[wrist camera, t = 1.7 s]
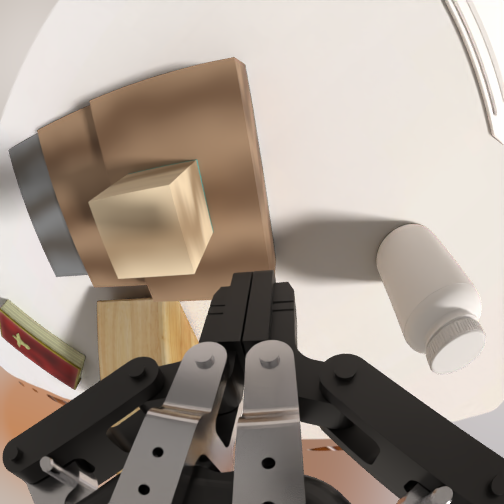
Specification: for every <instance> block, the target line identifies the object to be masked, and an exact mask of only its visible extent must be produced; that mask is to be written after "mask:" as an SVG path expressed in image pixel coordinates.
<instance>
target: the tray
mask: <svg viewBox="0 0 504 504" xmlns="http://www.w3.org/2000/svg"><path fill="white" fill-rule="evenodd" d="M444 1H445V3H446V5H447V7H448V8H449V10H450V12H451V15H452V17H453V19H454V21H455V23H456V25H457V27H458V30H459V32H460V34H461V36H462V39H463V41H464V44H465V46H466V49H467V51H468V54H469V56H470V59H471V62H472V65H473V68H474V70H475V73H476V76H477V80H478V83H479V86H480V89H481V93H482V96H483V100H484V103H485V107H486V111H487V115H488V119H489V124H490V128H491V133H492V135H493V136H494V137H495V138H496V139H497V140H498V141H499V142H501V143H502V144H503V145H504V0H453V1H454V3H455V5H456V7H457V9H458V11H459V13H460V15H461V17H462V19H463V21H464V24H465V26H466V28H467V30H468V33H469V35H470V37H471V40H472V42H473V45H474V47H475V50H476V53H477V55H478V58H479V61H480V64H481V67H482V70H483V73H484V76H485V79H486V82H487V85H488V89H489V92H490V96H491V100H492V103H493V107H494V114H493V111H492V107H491V103H490V99H489V96H488V92H487V89H486V85H485V82H484V79H483V76H482V72H481V69H480V67H479V64H478V61H477V58H476V55H475V53H474V50H473V47H472V45H471V42H470V40H469V37H468V35H467V33H466V30H465V28H464V26H463V24H462V21H461V19H460V17H459V15H458V13H457V11H456V9H455V7H454V5H453V3H452V1H451V0H444Z"/></svg>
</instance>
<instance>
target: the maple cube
mask: <svg viewBox="0 0 504 504" xmlns="http://www.w3.org/2000/svg"><path fill="white" fill-rule="evenodd" d="M88 203H89V206H90V209H91V211H92V214H93V217H94V220H95V223H96V225H97V228H98V231H99V233H100V236H101V238H102V241H103V243H104V246H105V248H106V251H107V253H108V256H109V258H110V261H111V263H112V265H113V268H114V270H115V272H116V275H117V277H118V279H125V278H142V277H157V276H173V275H188V274H195V272H196V269H197V267H198V265H199V263H200V260H201V258H202V256H203V254H204V251H205V249H206V247H207V245H208V242H209V240H210V238H211V236H212V234H213V227H212V223H211V219H210V214H209V210H208V206H207V201H206V197H205V193H204V188H203V184H202V179H201V175H200V170H199V166H198V161H197V160H191V161H186V162H181V163H176V164H171V165H166V166H161V167H156V168H152V169H147V170H143V171H139V172H134V173H130V174H128V175H126V176H125V177H123V178H122V179H120V180H119V181H117V182H116V183H114V184H113V185H111V186H110V187H108V188H107V189H106V190H104V191H103V192H101V193H100V194H99V195H97V196H96V197H94V198H93V199H92V200H90V201H89V202H88Z"/></svg>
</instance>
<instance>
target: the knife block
mask: <svg viewBox="0 0 504 504" xmlns="http://www.w3.org/2000/svg"><path fill="white" fill-rule="evenodd" d="M97 332H98V353H99V368H100V380H102V379H104V378H105V377H107V376H108V375H110V374H111V373H113V372H114V371H115V370H117V369H118V368H120V367H121V366H123V365H124V364H126V363H127V362H128V361H130V360H132V359H134V358H137V357H150V358H152V359H154V360H155V361H156V362H157V364H158V366H162V365H167V364H171V363H175V362H179V361H181V360H182V359H183V357H184V355H185V353H186V352H187V351H188V350H189V349H190V348H191V347H193V346H194V345H196V344H198V343H199V342H198V340H197V338H196V336H195V334H194V332H193V330H192V328H191V326H190V324H189V322H188V320H187V317H186V315H185V313H184V311H183V309H182V307H181V304H180V302H179V301H167V302H154V301H153V298H137V299H119V300H105V301H101V300H100V301H97ZM138 410H140V408H139V407H138V408H137V409H135V410H134V411H133V412H131V413H130V414H128V415H127V416H126V417H124V418H123V419H121V420H120V421H118V422H117V423H116V424H114V425H113V426H111V427H115V426H117V425H119V424H120V423H121V422H123V421H124V420H126V419H127V418H128V417H130V416H131V415H133V414H134V413H135V412H137V411H138ZM122 470H123V469H122ZM122 470H121V471H119V472H118V473H116V474H117V475H118V474H119V473H121V472H122Z"/></svg>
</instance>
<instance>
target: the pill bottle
mask: <svg viewBox="0 0 504 504" xmlns="http://www.w3.org/2000/svg"><path fill="white" fill-rule="evenodd" d="M376 262H377V268H378V272H379V275H380V277H381V279H382V282H383V284H384V286H385V289H386V291H387V294H388V296H389V299H390V301H391V304H392V306H393V309H394V311H395V314H396V317H397V319H398V322H399V324H400V327H401V330H402V333H403V335H404V338H405V340H406V342H407V343H408V344H409V346H410V347H411V348H412V349H414V350H415V351H417V352H419V353H422V354H426V357H427V360H428V363H429V366H430V369H431V370H432V371H433V372H435V373H437V374H450V373H453V372H456V371H458V370H460V369H462V368H464V367H466V366H467V365H469V364H470V363H471V362H472V361H474V360H475V359H476V358H477V357H478V355H479V354H480V353H481V352H482V350H483V348H484V346H485V343H486V335H485V332H484V331H483V329H482V327H481V325H480V323H479V318H480V315H481V308H482V305H481V298H480V295H479V292H478V290H477V289H476V287H475V286H474V284H473V283H472V282H471V280H470V279H469V277H468V276H467V275H466V273H465V272H464V271H463V269H462V268H461V267H460V265H459V264H458V263H457V261H456V260H455V259H454V257H453V256H452V255H451V254H450V252H449V251H448V250H447V248H446V247H445V246H444V245H443V243H442V242H441V241H440V240H439V239H438V237H437V236H436V235H435V234H434V233H433V232H432V231H431V230H430V229H428V228H427V227H425V226H423V225H419V224H407V225H403V226H401V227H398V228H397V229H395V230H393V231H392V232H391V233H390V234H388V235H387V236H386V238H385V239H384V240H383V242H382V243H381V245H380V247H379V249H378V253H377V259H376Z"/></svg>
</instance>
